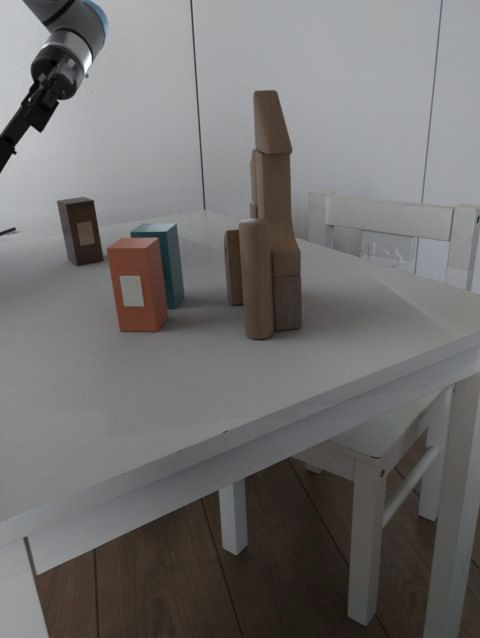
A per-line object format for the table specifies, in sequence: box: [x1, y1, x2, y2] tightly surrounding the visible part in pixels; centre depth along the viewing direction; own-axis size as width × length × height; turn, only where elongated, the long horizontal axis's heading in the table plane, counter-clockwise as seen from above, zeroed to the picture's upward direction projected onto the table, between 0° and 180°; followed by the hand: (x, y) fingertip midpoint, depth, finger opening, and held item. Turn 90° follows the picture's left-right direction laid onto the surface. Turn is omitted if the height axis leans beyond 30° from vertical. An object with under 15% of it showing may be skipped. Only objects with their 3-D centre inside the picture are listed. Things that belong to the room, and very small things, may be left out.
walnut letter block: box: [56, 196, 105, 267], centre depth 94 cm, size 5×5×10 cm
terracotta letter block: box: [106, 237, 169, 333], centre depth 67 cm, size 5×5×10 cm
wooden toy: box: [223, 89, 303, 340], centre depth 65 cm, size 15×7×25 cm, turn 13°
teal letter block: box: [129, 222, 185, 310], centre depth 73 cm, size 5×5×10 cm
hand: (10, 149), depth 82 cm, fingers open, 13 cm apart
